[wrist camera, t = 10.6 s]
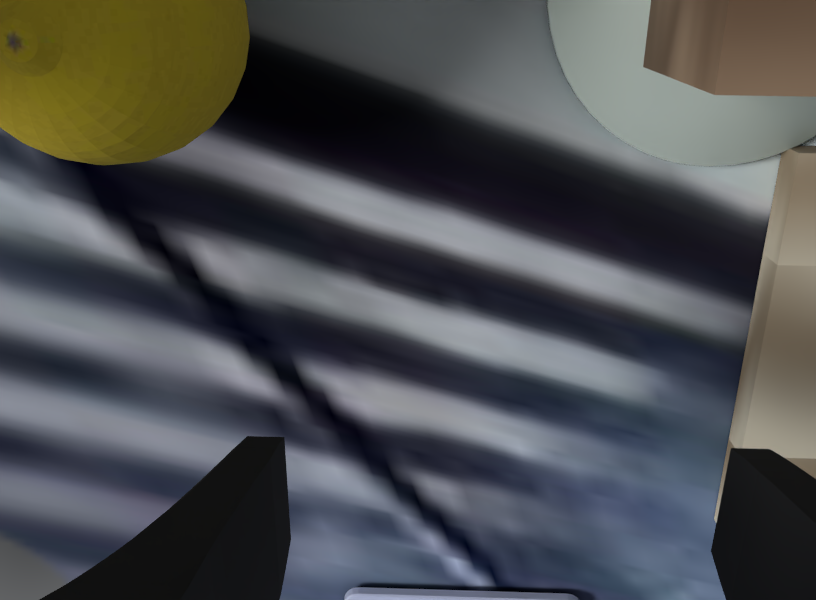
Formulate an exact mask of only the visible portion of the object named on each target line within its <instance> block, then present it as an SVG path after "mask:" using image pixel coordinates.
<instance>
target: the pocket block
mask: <svg viewBox="0 0 816 600" xmlns="http://www.w3.org/2000/svg"><path fill="white" fill-rule="evenodd" d="M731 448H749V449H770V450H772V451H774V452H776V453H777V454H779V455H781V456H782V457H784V458H785V459H787V460H789V461H790V462H792V463H793V464H795V465H796V466H798V467H799V468H801V469H802V470H803V471H805V472H806V473H808V474H809V475H811V476H812V477H814V478H815V479H816V146H796V147H793V148H791V149H789V150H786V151H784V152H782V153H781V159H780V164H779V169H778V175H777V180H776V186H775V191H774V197H773V202H772V207H771V213H770V218H769V224H768V229H767V234H766V240H765V245H764V251H763V256H762V262H761V267H760V272H759V278H758V283H757V289H756V294H755V300H754V305H753V310H752V316H751V321H750V327H749V332H748V338H747V343H746V348H745V354H744V359H743V365H742V370H741V376H740V381H739V386H738V392H737V397H736V403H735V408H734V414H733V419H732V424H731V430H730V435H729V441H728V446H727V452H726V457H725V462H724V468H723V473H722V479H721V484H720V489H719V495H718V500H717V506H716V511H715V517H714V520H715V522H716V523H717V518H718V513H719V507H720V502H721V497H722V492H723V487H724V481H725V476H726V471H727V466H728V460H729V455H730V450H731Z"/></svg>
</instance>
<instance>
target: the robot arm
mask: <svg viewBox="0 0 816 600" xmlns="http://www.w3.org/2000/svg"><path fill="white" fill-rule="evenodd" d="M290 541H291V535H290V519H289V504H288V489H287V473H286V458H285V442H284V437H254V436H247V437H246V438H245V439H244V440H243V441H242V442H241V443H240V444H238V445H237V446H236V447H235V448H234V449H233V450H232V451H231V452H230V453H229V454H228V455H227V456H226V457H225V458H224V459H223V460H221V461H220V462H219V463H218V464H217V465H216V466H215V467H214V468H213V469H212V470H211V471H210V472H209V473H208V474H207V475H206V476H205V477H204V478H203V479H202V480H201V481H200V482H198V483H197V484H196V485H195V486H194V487H193V488H192V489H191V490H190V491H189V492H187V493H186V494H185V495H184V496H183V497H182V498H181V499H180V500H179V501H178V502H176V503H175V504H174V505H173V506H172V507H171V508H170V509H169V510H167V511H166V512H165V513H164V514H162V515H161V516H160V517H159V518H158V519H156V520H155V521H154V522H153V523H151V524H150V525H149V526H148V527H147V528H145V529H144V530H143V531H142V532H140V533H139V534H138V535H137V536H136V537H134V538H133V539H132V540H130V541H129V542H128V543H126V544H125V545H124V546H122V547H121V548H120V549H118V550H117V551H116V552H114V553H113V554H111V555H110V556H109V557H107V558H106V559H104V560H103V561H101V562H100V563H98V564H97V565H95V566H94V567H92V568H91V569H89V570H88V571H86V572H85V573H83V574H82V575H80V576H79V577H77V578H76V579H74V580H72V581H71V582H69V583H68V584H66V585H64V586H63V587H61V588H59V589H57V590H56V591H54V592H52V593H50V594H49V595H47V596H45V597H43V598H42V599H40V600H279V599H280V595H281V590H282V585H283V580H284V574H285V569H286V564H287V558H288V552H289V546H290ZM711 552H712V555H713V559H714V562H715V565H716V569H717V572H718V575H719V579H720V582H721V585H722V588H723V591H724V594H725V597H726V600H816V479H815V478H814V477H812V476H811V475H809V474H808V473H806V472H805V471H803V470H802V469H801V468H799V467H798V466H796V465H795V464H793V463H792V462H790V461H789V460H787V459H785V458H784V457H782V456H781V455H779V454H777V453H776V452H774V451H772V450H770V449H749V448H731V450H730V455H729V460H728V466H727V471H726V476H725V481H724V487H723V492H722V497H721V502H720V507H719V513H718V518H717V523H716V528H715V534H714V539H713V544H712V549H711ZM344 600H579V599H578V598H577V597H576V596H574V595H572V594H565V593H532V592H499V591H467V590H434V589H401V588H368V587H357V588H352V589H350V590H348V592H347V593H346V594H345V598H344Z"/></svg>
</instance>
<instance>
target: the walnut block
mask: <svg viewBox="0 0 816 600" xmlns="http://www.w3.org/2000/svg"><path fill="white" fill-rule="evenodd" d="M643 67H644V68H647V69H650V70H652V71H655V72H657V73H660V74H662V75H665V76H667V77H670V78H672V79H675V80H677V81H680V82H683V83H685V84H688V85H690V86H693V87H695V88H698V89H700V90H703V91H705V92H708V93H710V94H713V95H739V96H802V97H816V0H651V5H650V13H649V22H648V30H647V38H646V47H645V55H644V64H643Z"/></svg>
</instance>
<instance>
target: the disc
mask: <svg viewBox="0 0 816 600" xmlns="http://www.w3.org/2000/svg"><path fill="white" fill-rule="evenodd" d="M650 5H651V0H547V13H548V22H549V30H550V34H551V38H552V42H553V46H554V50H555V54H556V56H557V59H558V61H559V64H560V66H561V69H562V71H563V74H564V76H565V78H566V80H567V81H568V83H569V85H570V87H571V88H572V90H573V92H574V94H575V95H576V96H577V98H578V99H579V100H580V102H581V103H582V104H583V106H584V107H585V108H586V109H587V111H588V112H589V113H590V114H591V115H592V116H593V117H594V118H595V119H596V120H597V121H598V122H599V123H600V124H601V125H602V126H603V127H604V128H606V129H607V130H608V131H609V132H611V133H612V134H614V135H615V136H616V137H618V138H619V139H620V140H622V141H623V142H625V143H626V144H628V145H630V146H632V147H634V148H636V149H638V150H640V151H641V152H643V153H646V154H649V155H651V156H654V157H657V158H660V159H662V160H666V161H670V162H675V163H680V164H684V165H694V166H707V167H711V166H731V165H737V164H742V163H748V162H754V161H757V160H761V159H764V158H767V157H771V156H774V155H777V154H779V153H782V152H784V151H786V150H789V149H791V148H793V147H796V146H798V145H800V144H802V143H804V142H805V141H807V140H809V139H811V138H812V137H814V136H816V97H802V96H739V95H713V94H710V93H708V92H705V91H703V90H700V89H698V88H695V87H693V86H690V85H688V84H685V83H683V82H680V81H677V80H675V79H672V78H670V77H667V76H665V75H662V74H660V73H657V72H655V71H652V70H650V69H647V68H644V67H643V64H644V55H645V47H646V38H647V30H648V22H649V13H650Z"/></svg>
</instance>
